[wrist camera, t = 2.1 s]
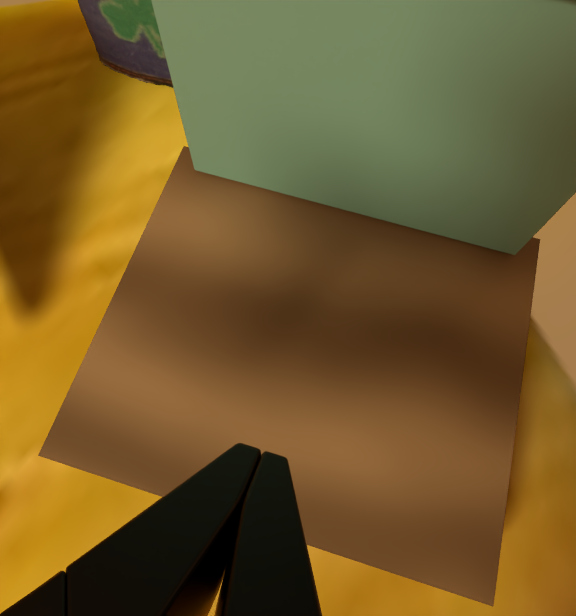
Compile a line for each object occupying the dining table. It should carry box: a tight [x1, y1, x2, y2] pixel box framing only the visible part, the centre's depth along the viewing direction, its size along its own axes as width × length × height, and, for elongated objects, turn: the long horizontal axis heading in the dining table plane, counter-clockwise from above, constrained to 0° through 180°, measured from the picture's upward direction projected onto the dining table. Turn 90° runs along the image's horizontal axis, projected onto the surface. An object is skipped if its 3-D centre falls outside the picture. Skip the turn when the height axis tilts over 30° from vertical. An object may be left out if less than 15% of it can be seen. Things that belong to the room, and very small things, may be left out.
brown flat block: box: [38, 146, 540, 606], centre depth 21 cm, size 14×16×4 cm
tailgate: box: [151, 0, 576, 255], centre depth 16 cm, size 2×14×12 cm, turn 73°
